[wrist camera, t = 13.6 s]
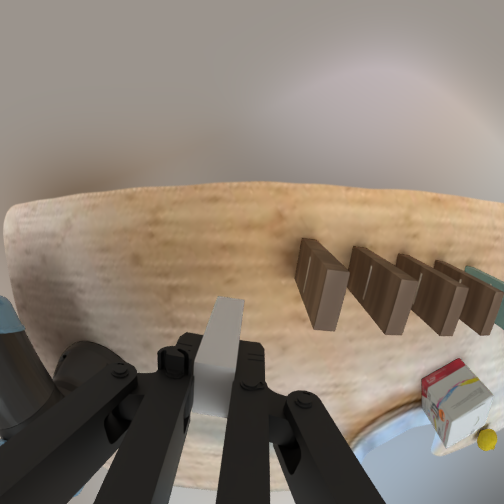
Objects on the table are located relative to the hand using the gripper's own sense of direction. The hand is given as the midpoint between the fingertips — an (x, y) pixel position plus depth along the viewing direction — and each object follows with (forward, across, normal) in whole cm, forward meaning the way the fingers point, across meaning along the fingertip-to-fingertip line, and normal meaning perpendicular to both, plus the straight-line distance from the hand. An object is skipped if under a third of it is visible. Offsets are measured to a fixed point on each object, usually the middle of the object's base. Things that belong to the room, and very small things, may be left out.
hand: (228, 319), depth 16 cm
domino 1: (+18, +7, 0) cm, 20 cm away
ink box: (+18, +37, -19) cm, 46 cm away
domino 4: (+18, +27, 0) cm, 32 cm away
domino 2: (+18, +14, 0) cm, 23 cm away
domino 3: (+18, +20, 0) cm, 27 cm away
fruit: (+18, +65, -38) cm, 78 cm away
